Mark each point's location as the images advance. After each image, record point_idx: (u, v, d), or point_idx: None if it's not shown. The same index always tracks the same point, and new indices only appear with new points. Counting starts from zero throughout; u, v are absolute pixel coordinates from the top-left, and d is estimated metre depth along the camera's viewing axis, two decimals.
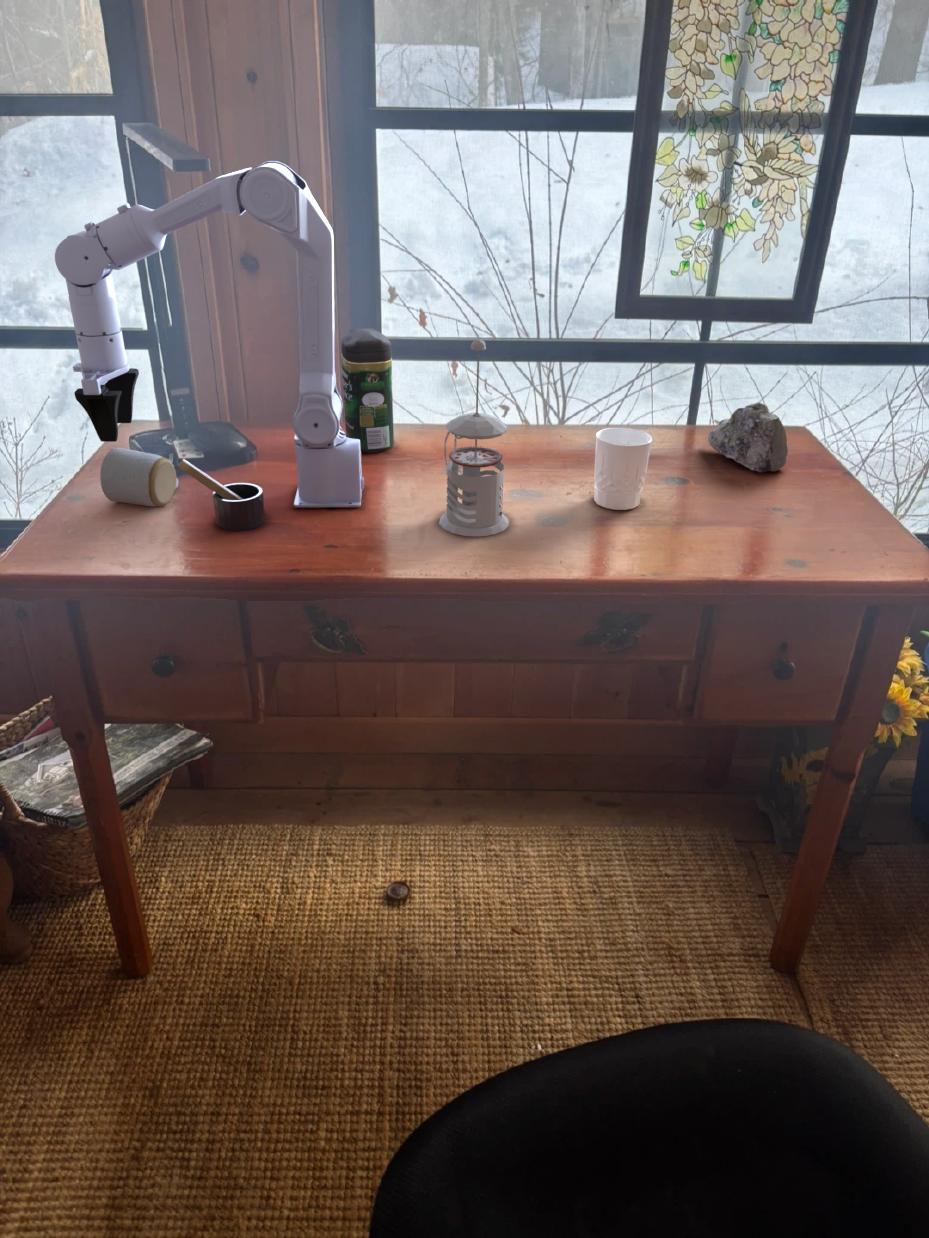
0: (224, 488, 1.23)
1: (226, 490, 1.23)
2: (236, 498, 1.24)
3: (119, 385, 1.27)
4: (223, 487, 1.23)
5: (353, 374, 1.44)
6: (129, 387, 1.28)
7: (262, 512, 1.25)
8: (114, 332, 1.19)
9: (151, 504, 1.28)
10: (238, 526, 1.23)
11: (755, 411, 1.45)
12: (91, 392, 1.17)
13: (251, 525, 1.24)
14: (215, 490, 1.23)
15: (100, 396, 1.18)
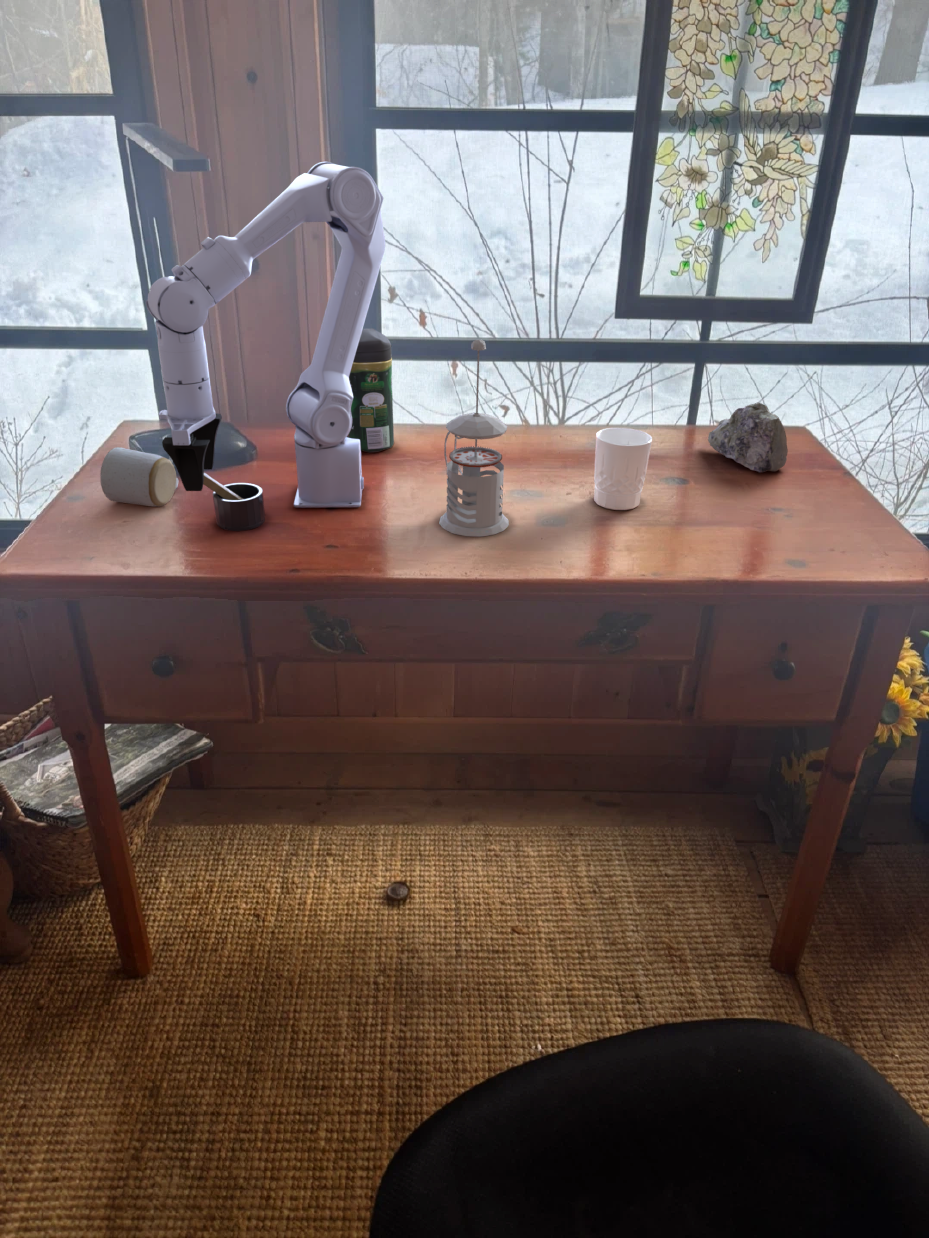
0: (224, 488, 1.23)
1: (226, 490, 1.23)
2: (236, 498, 1.24)
3: (202, 431, 1.23)
4: (223, 487, 1.23)
5: (353, 374, 1.44)
6: (212, 433, 1.24)
7: (262, 512, 1.25)
8: (208, 377, 1.16)
9: (151, 504, 1.28)
10: (238, 526, 1.23)
11: (755, 411, 1.45)
12: (181, 442, 1.13)
13: (251, 525, 1.24)
14: (215, 490, 1.23)
15: (189, 446, 1.14)
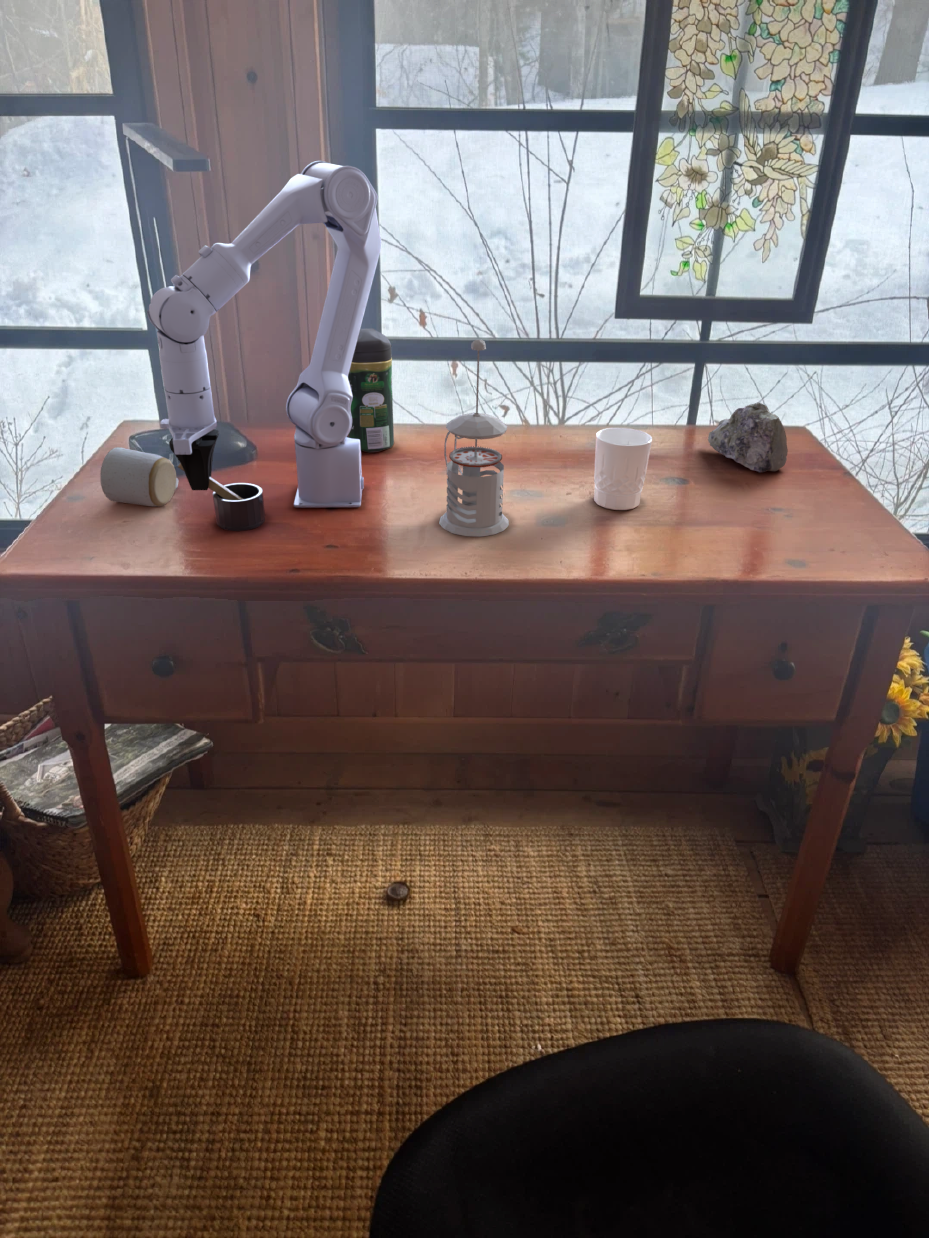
0: (224, 488, 1.23)
1: (226, 490, 1.23)
2: (236, 498, 1.24)
3: None
4: (224, 487, 1.23)
5: (353, 374, 1.44)
6: None
7: (262, 512, 1.25)
8: (209, 386, 1.16)
9: (151, 504, 1.28)
10: (238, 526, 1.23)
11: (755, 411, 1.45)
12: (182, 452, 1.13)
13: (251, 525, 1.24)
14: (215, 490, 1.23)
15: (195, 446, 1.17)
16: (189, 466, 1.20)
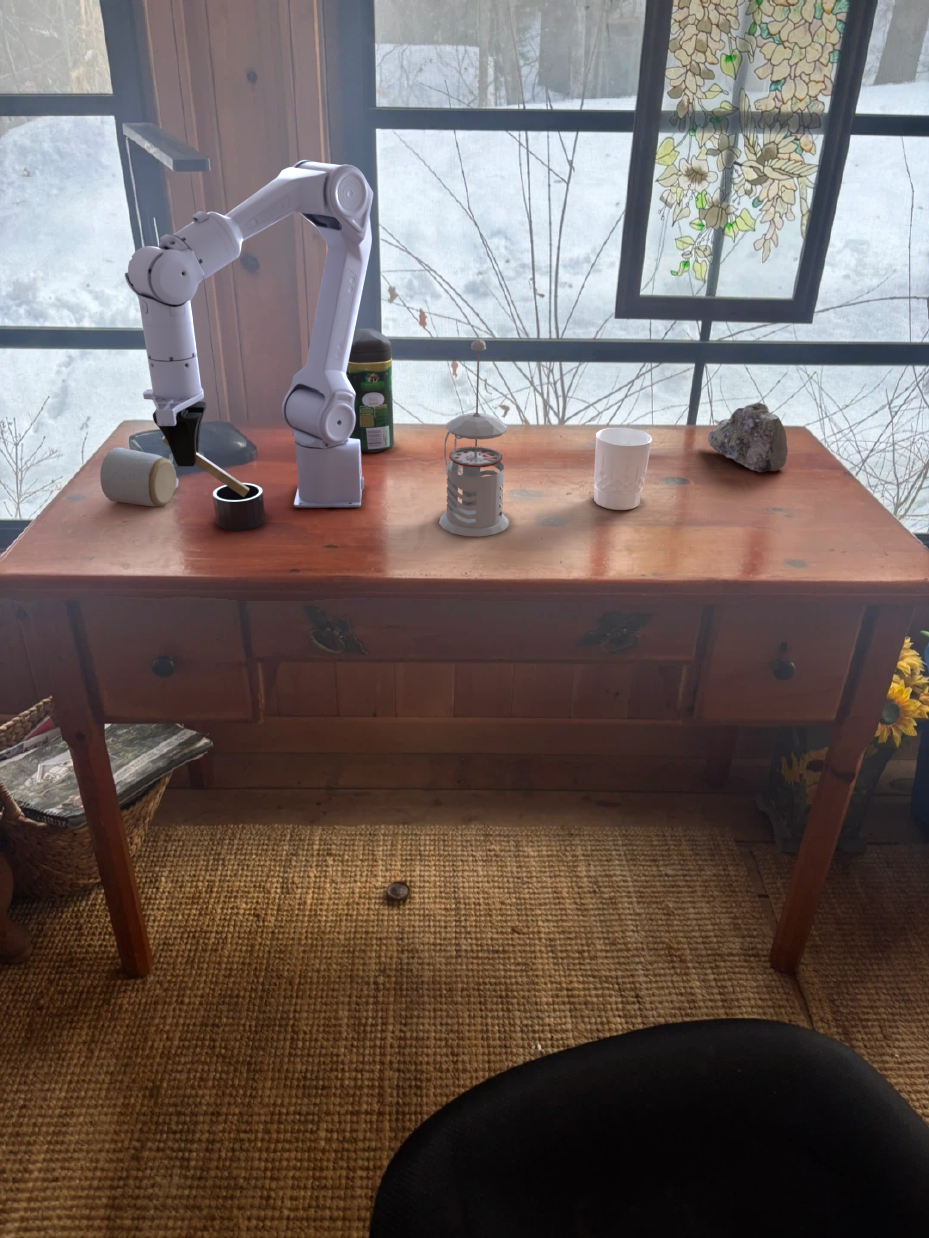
0: (212, 464, 1.16)
1: (214, 466, 1.16)
2: (224, 475, 1.17)
3: None
4: (211, 463, 1.16)
5: (353, 374, 1.44)
6: None
7: (262, 512, 1.25)
8: (196, 352, 1.09)
9: (151, 504, 1.28)
10: (238, 526, 1.23)
11: (755, 411, 1.45)
12: (166, 423, 1.06)
13: (251, 525, 1.24)
14: (202, 466, 1.16)
15: (180, 419, 1.10)
16: (174, 440, 1.13)
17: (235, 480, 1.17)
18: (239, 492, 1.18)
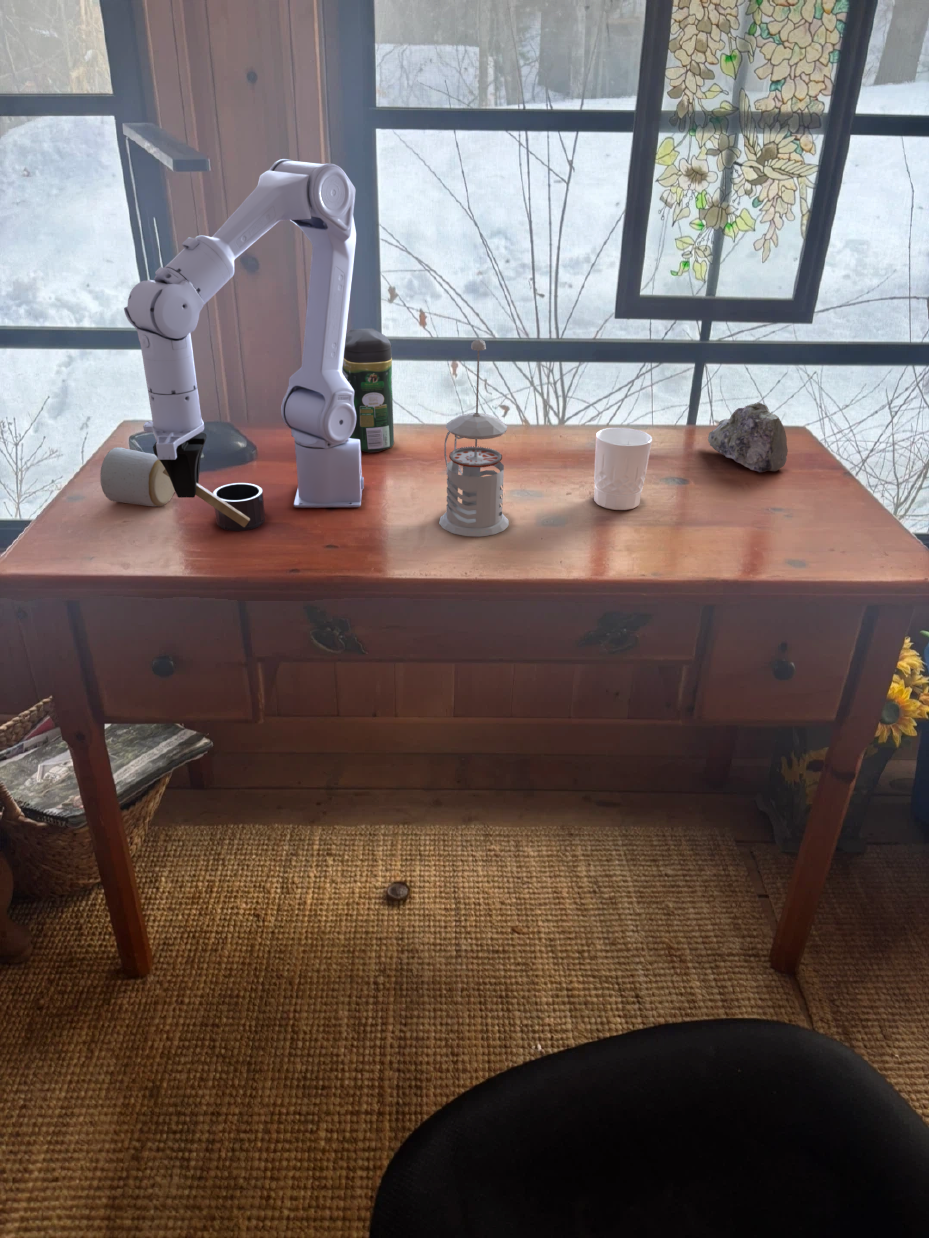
0: (212, 495, 1.16)
1: (214, 497, 1.16)
2: (225, 506, 1.16)
3: None
4: (211, 493, 1.16)
5: (353, 374, 1.44)
6: None
7: (262, 512, 1.25)
8: None
9: (151, 504, 1.28)
10: (238, 526, 1.23)
11: (755, 411, 1.45)
12: (166, 457, 1.06)
13: (251, 525, 1.24)
14: (202, 497, 1.16)
15: (181, 451, 1.10)
16: (175, 472, 1.13)
17: (235, 510, 1.17)
18: (239, 522, 1.18)
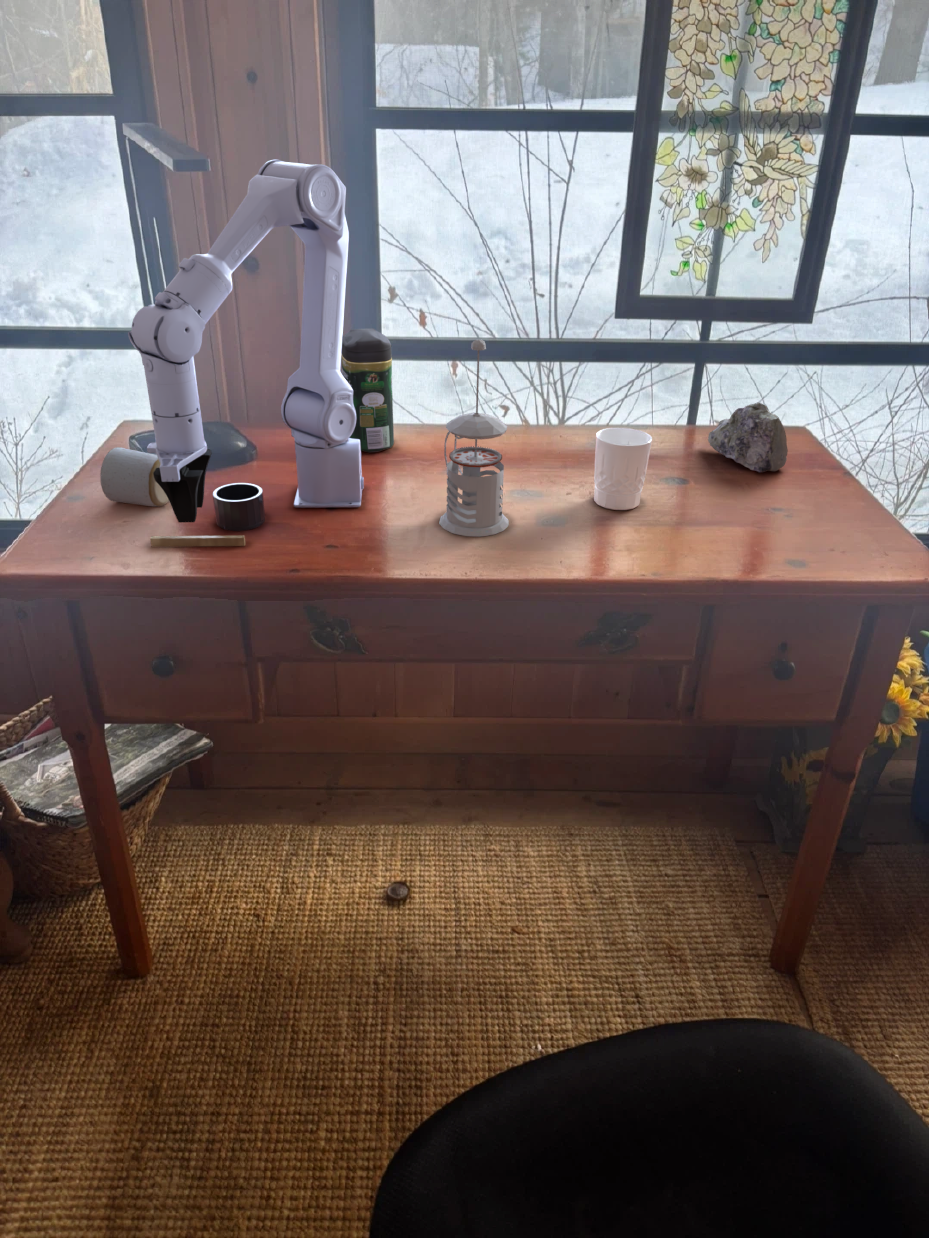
0: (200, 537, 1.19)
1: (203, 537, 1.19)
2: (216, 539, 1.19)
3: (191, 468, 1.16)
4: (200, 536, 1.19)
5: (353, 374, 1.44)
6: (202, 470, 1.17)
7: (262, 512, 1.25)
8: (199, 406, 1.11)
9: (151, 504, 1.28)
10: (238, 526, 1.23)
11: (755, 411, 1.45)
12: (170, 479, 1.07)
13: (251, 525, 1.24)
14: (195, 544, 1.19)
15: (181, 477, 1.10)
16: (175, 497, 1.13)
17: (227, 537, 1.19)
18: (238, 544, 1.19)
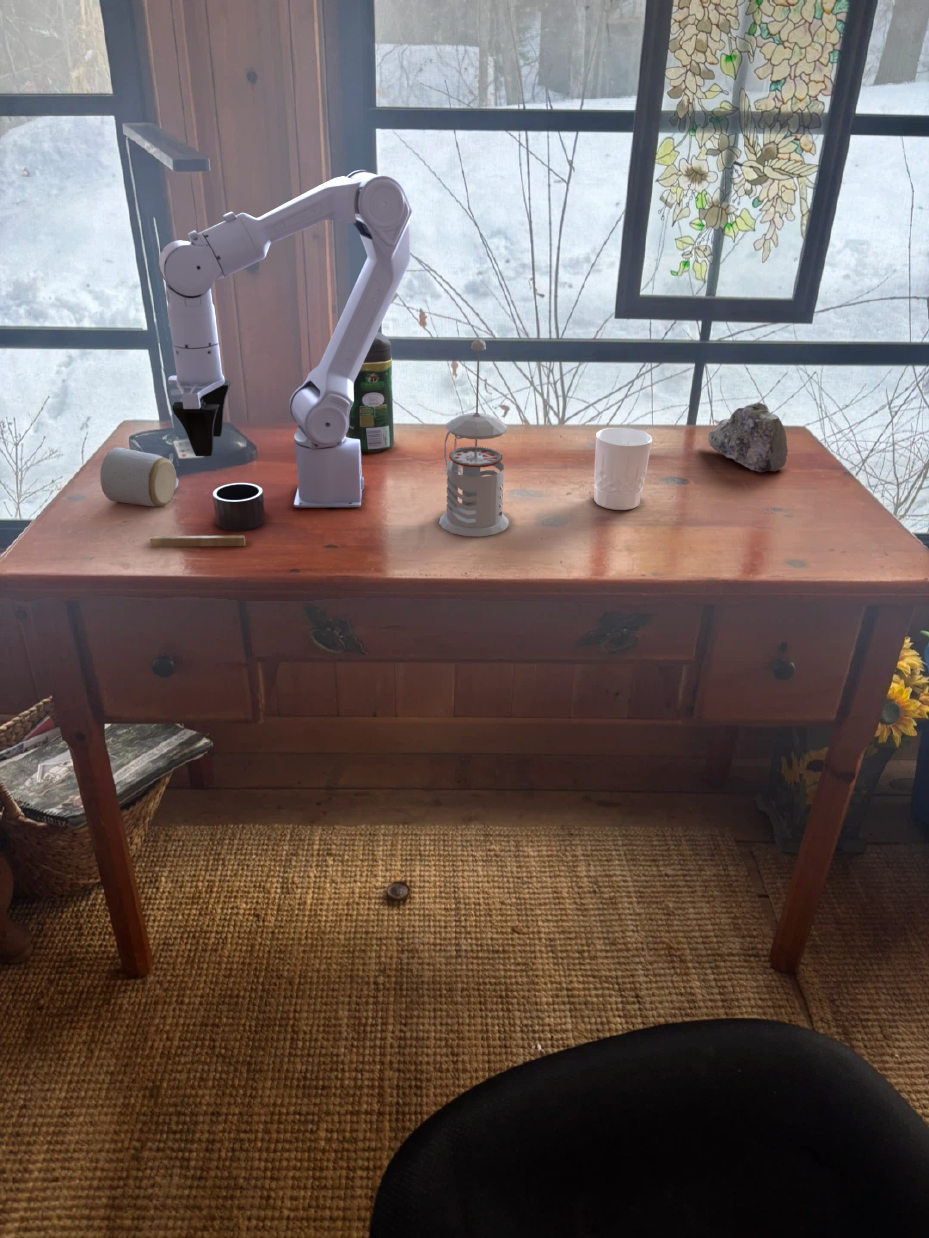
0: (200, 537, 1.19)
1: (203, 538, 1.19)
2: (216, 539, 1.19)
3: (211, 398, 1.24)
4: (200, 536, 1.19)
5: None
6: (221, 400, 1.24)
7: (262, 512, 1.25)
8: (216, 342, 1.16)
9: (151, 504, 1.28)
10: (238, 526, 1.23)
11: (755, 411, 1.45)
12: (191, 406, 1.13)
13: (251, 525, 1.24)
14: (195, 544, 1.19)
15: (199, 410, 1.15)
16: (193, 431, 1.18)
17: (227, 537, 1.19)
18: (238, 544, 1.19)
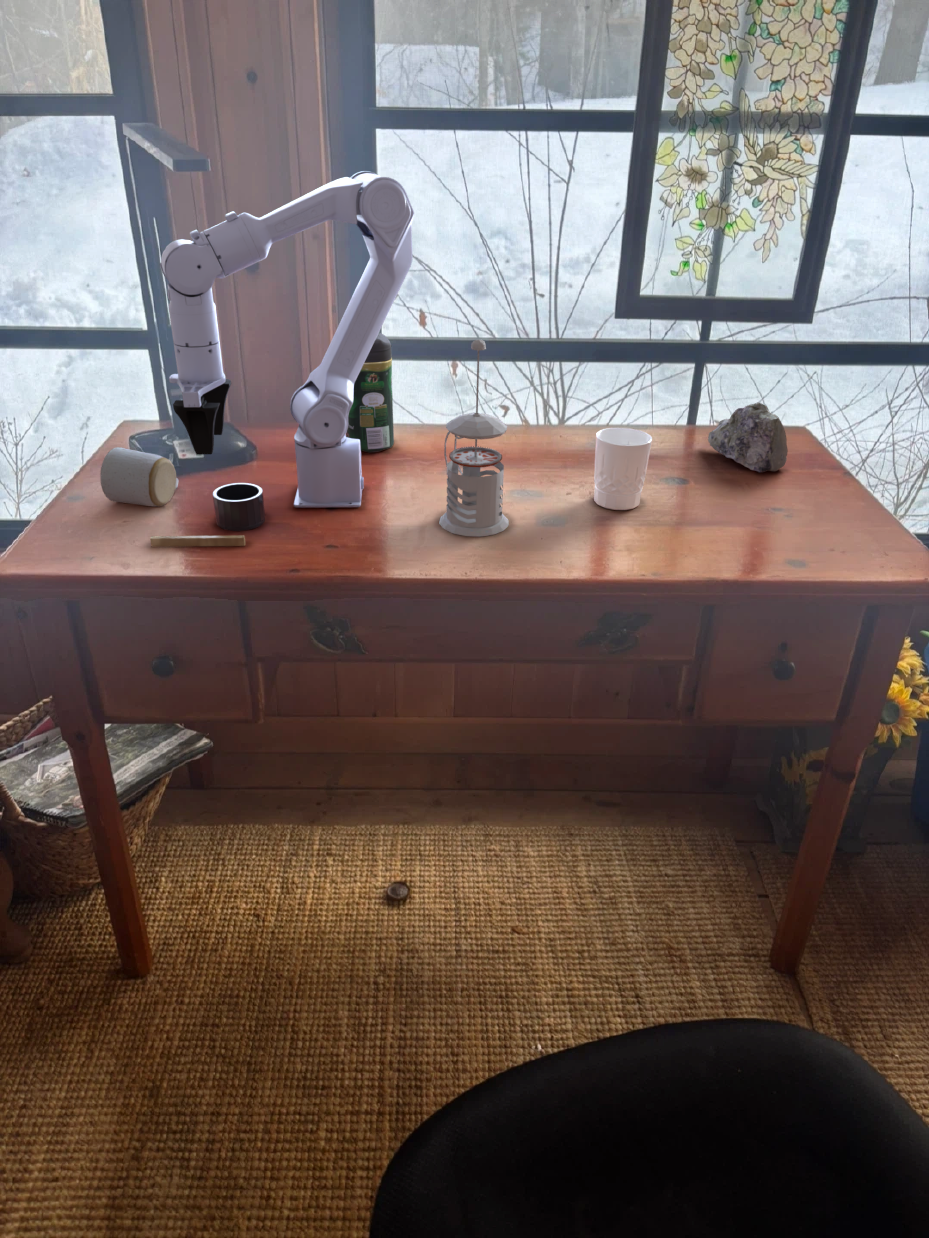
0: (200, 537, 1.19)
1: (203, 537, 1.19)
2: (216, 539, 1.19)
3: (212, 396, 1.24)
4: (200, 536, 1.19)
5: None
6: (222, 398, 1.25)
7: (262, 512, 1.25)
8: (217, 341, 1.16)
9: (151, 504, 1.28)
10: (238, 526, 1.23)
11: (755, 411, 1.45)
12: (192, 404, 1.14)
13: (251, 525, 1.24)
14: (195, 544, 1.19)
15: (200, 408, 1.15)
16: (193, 429, 1.18)
17: (227, 537, 1.19)
18: (238, 544, 1.19)
